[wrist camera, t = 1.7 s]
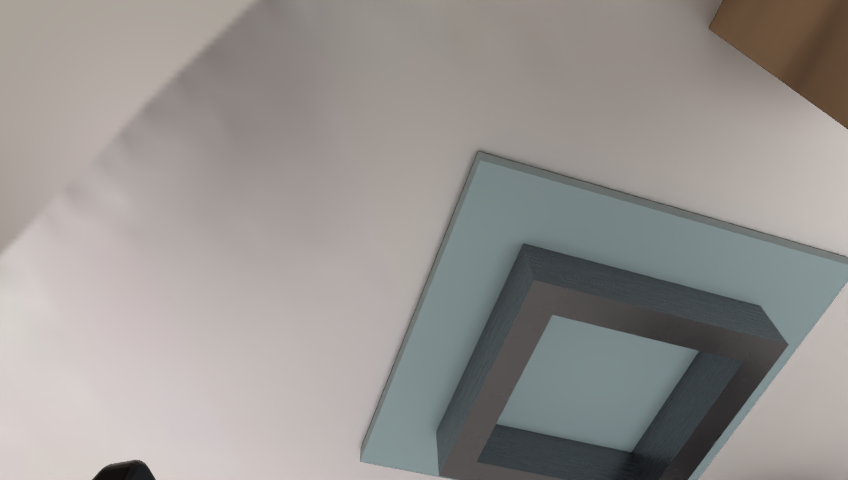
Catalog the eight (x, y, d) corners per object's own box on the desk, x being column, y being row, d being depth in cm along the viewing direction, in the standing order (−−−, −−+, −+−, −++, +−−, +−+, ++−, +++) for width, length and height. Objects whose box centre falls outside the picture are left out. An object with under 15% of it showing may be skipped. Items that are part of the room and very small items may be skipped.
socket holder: (848, 257, 24) (895, 305, 21) (661, 508, 30) (683, 564, 28) (478, 151, 21) (488, 192, 19) (360, 449, 27) (358, 506, 25)
